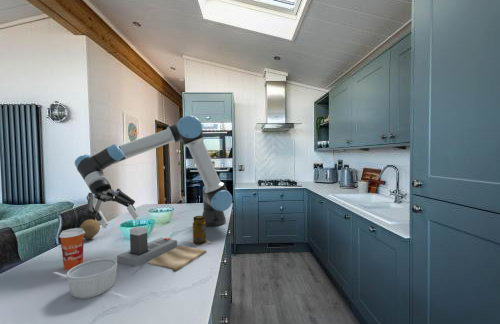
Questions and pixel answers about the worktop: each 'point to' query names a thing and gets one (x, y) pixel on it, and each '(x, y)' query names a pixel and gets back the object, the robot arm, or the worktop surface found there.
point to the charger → (138, 240)
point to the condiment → (199, 231)
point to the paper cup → (72, 247)
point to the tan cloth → (177, 257)
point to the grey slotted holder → (154, 250)
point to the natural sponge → (90, 228)
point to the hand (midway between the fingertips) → (122, 221)
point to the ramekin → (92, 277)
